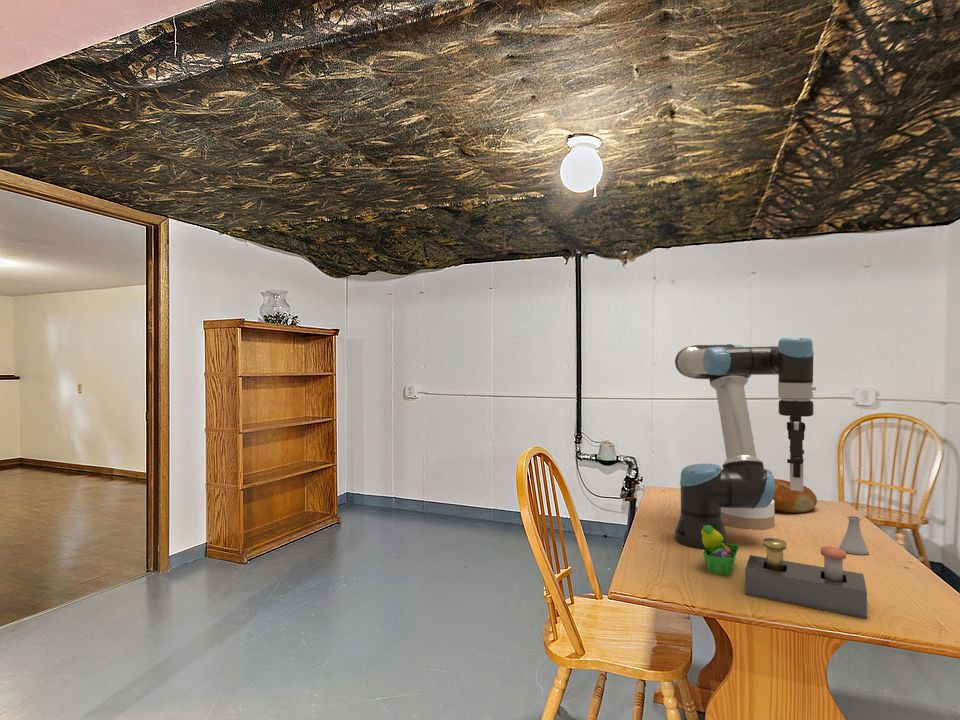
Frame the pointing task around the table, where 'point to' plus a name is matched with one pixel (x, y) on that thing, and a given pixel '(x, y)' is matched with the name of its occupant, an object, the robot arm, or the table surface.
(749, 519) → the bowl
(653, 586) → the table surface
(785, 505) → the bread
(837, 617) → the table surface
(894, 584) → the table surface
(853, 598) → the block
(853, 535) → the flask
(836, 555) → the red plunger
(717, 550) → the fruit basket
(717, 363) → the robot arm
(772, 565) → the brass plunger
